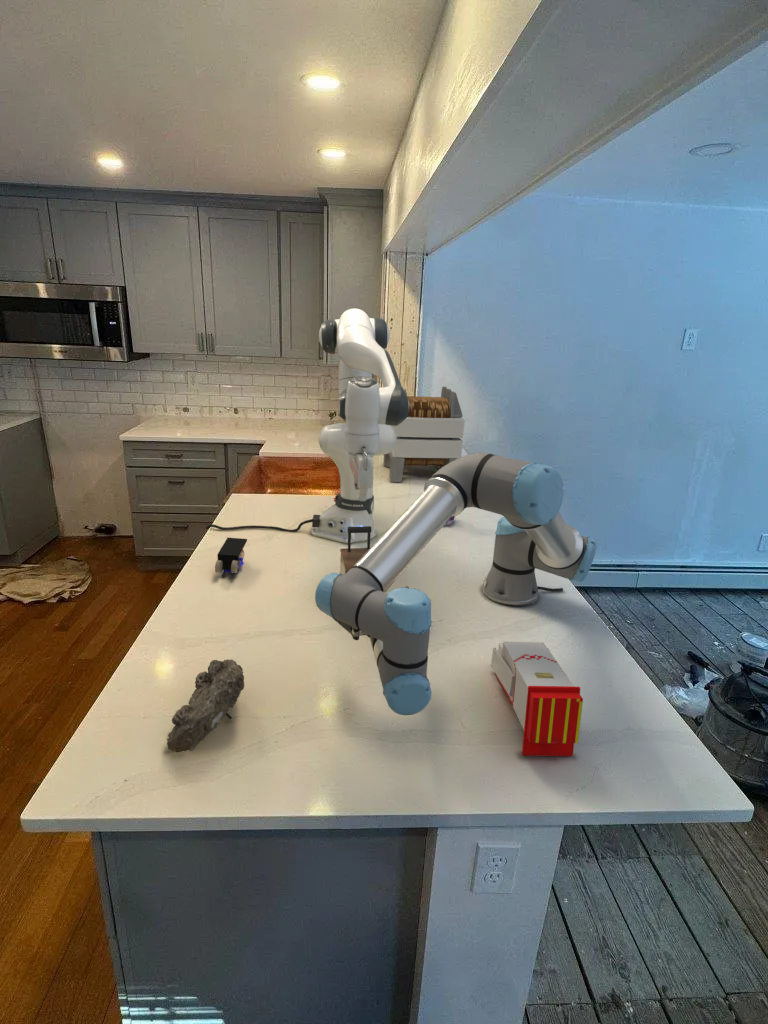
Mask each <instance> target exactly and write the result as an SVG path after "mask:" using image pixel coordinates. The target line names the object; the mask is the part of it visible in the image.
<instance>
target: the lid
mask: <svg viewBox="0 0 768 1024" xmlns="http://www.w3.org/2000/svg"><path fill="white" fill-rule="evenodd" d="M347 531H348V543H347V548H345V547H344V548H340V549H339V550H340V558H341V557H342V561H343V566H344V570H345V574H346V573H347V572H348V571H349V570H350V569H351V568H352V567H353V566H354V565H355V564H356V563H357V562H358V561H359V560H360V559H361V558H362V556H363V555H364V554H365V553H366V552H367V551H368V550H369V549H370V548H371V539H370V533H371V526H356V527H348V528H347ZM351 533H368V536H367V540H366V541H367V542H366V547H352V543H351Z"/></svg>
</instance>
